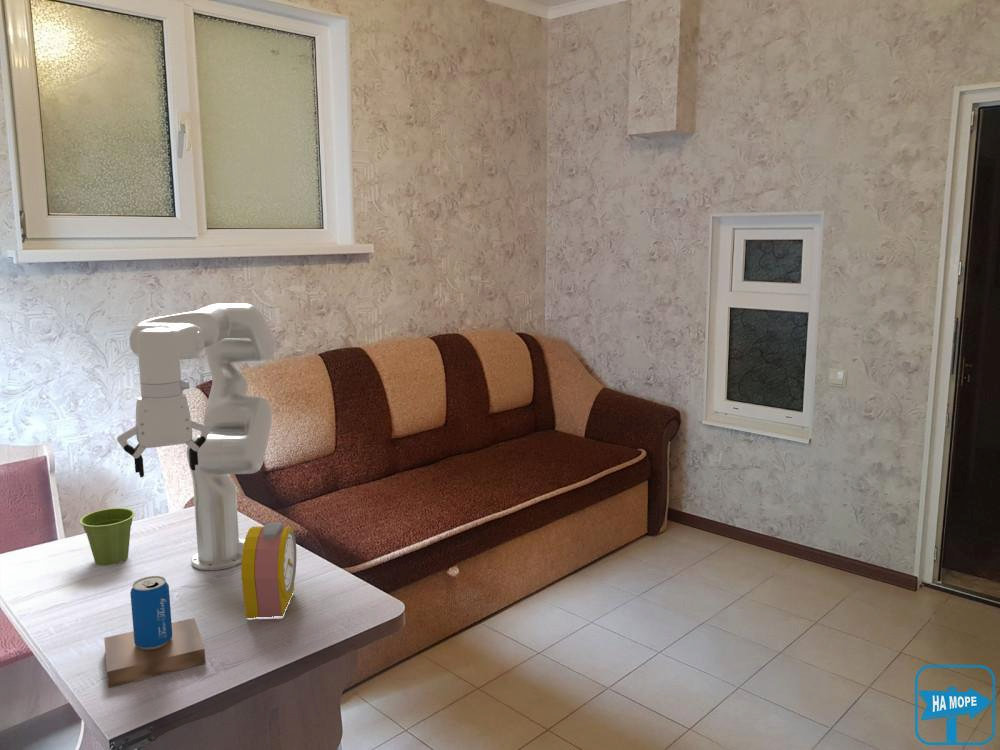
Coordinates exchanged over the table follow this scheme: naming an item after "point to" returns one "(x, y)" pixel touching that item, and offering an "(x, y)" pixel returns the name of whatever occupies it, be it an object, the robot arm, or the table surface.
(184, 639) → the walnut board
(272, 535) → the alarm clock
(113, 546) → the plant pot
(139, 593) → the beverage can
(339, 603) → the table surface
